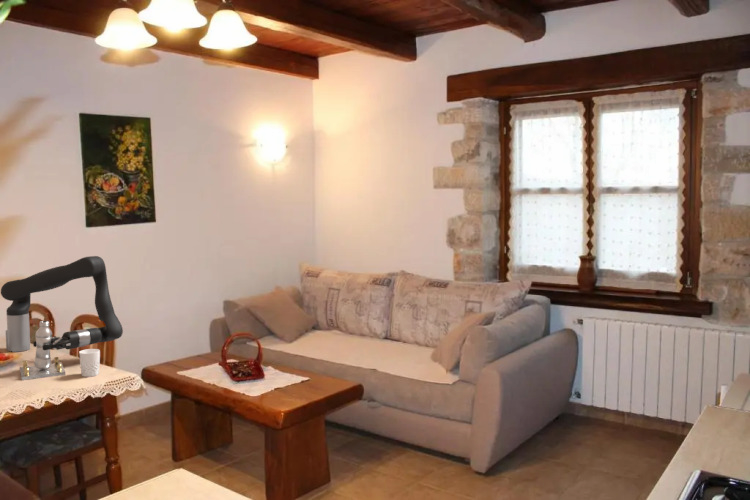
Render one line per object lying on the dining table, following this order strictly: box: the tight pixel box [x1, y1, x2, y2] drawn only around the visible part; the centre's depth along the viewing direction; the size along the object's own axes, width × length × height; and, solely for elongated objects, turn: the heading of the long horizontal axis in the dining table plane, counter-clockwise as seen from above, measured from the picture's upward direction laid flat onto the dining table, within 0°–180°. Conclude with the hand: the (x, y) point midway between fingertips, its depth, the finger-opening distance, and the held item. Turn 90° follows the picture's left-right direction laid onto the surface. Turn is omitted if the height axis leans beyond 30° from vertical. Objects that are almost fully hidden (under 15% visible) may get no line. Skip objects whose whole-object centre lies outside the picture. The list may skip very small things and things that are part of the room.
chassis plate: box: [19, 356, 66, 381], centre depth 275 cm, size 16×16×4 cm
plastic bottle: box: [33, 320, 53, 369], centre depth 275 cm, size 6×7×20 cm
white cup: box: [78, 348, 101, 378], centre depth 272 cm, size 8×8×10 cm
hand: (38, 346), depth 273 cm, fingers open, 8 cm apart
